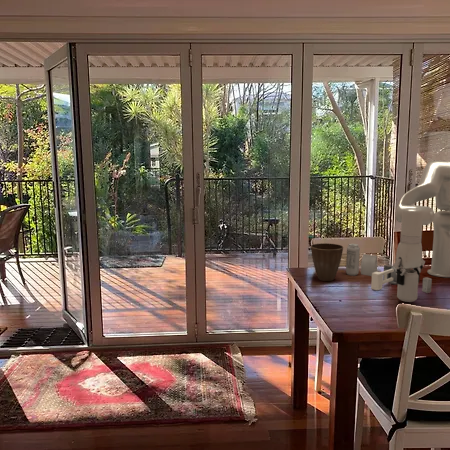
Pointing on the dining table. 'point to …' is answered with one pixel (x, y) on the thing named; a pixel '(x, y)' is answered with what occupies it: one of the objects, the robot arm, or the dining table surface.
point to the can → (408, 286)
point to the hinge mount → (389, 274)
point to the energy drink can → (352, 259)
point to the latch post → (427, 285)
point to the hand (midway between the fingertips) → (407, 282)
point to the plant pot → (326, 260)
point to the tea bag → (368, 264)
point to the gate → (378, 278)
